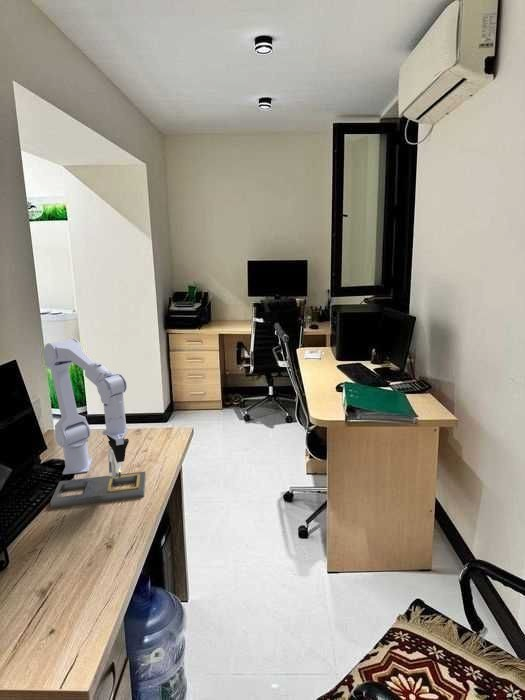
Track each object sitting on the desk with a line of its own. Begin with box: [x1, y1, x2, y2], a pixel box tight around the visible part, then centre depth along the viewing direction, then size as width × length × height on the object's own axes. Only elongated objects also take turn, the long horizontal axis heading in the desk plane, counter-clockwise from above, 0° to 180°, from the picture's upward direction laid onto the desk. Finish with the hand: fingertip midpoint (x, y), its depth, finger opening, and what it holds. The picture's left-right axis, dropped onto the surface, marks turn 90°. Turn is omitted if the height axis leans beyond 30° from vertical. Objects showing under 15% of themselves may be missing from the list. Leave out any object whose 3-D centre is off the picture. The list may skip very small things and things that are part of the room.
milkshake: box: [107, 447, 123, 479], centre depth 139 cm, size 5×5×10 cm
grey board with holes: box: [49, 471, 147, 509], centre depth 141 cm, size 12×26×2 cm, turn 101°
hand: (119, 458), depth 140 cm, fingers closed on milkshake, 4 cm apart
